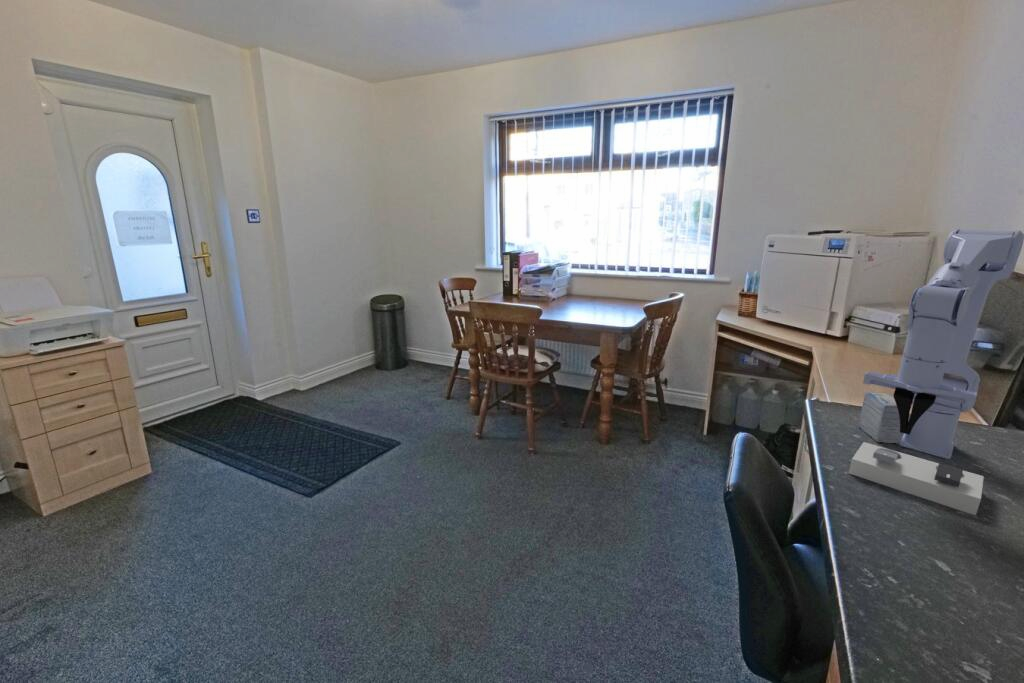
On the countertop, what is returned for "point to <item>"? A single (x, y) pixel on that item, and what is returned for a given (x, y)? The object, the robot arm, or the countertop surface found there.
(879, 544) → the countertop surface
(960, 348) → the robot arm
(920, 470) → the switch panel
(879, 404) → the medicine box
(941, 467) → the block
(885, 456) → the block
